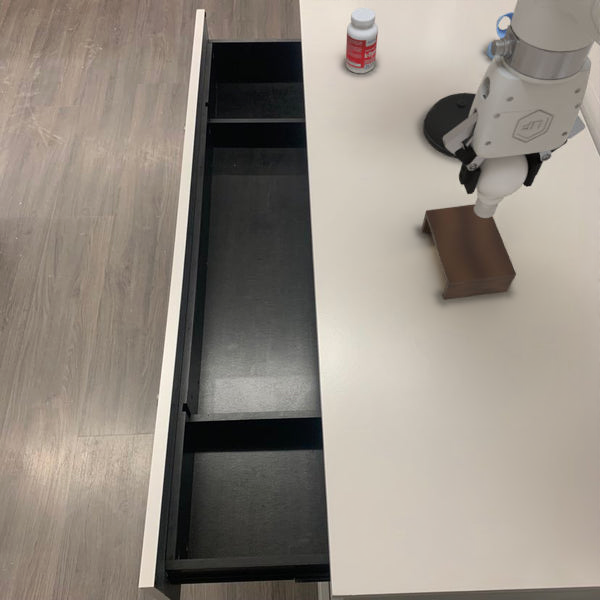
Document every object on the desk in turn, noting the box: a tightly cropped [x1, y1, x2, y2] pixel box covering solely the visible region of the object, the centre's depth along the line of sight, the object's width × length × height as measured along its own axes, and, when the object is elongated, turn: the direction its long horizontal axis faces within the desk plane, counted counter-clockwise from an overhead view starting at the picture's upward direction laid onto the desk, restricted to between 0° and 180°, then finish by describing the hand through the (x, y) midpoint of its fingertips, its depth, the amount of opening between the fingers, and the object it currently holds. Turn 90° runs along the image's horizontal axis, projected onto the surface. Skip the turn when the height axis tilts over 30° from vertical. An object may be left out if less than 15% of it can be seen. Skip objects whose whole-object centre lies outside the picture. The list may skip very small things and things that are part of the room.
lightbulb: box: [474, 154, 528, 218], centre depth 65 cm, size 6×6×11 cm
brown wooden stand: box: [421, 203, 517, 301], centre depth 83 cm, size 10×14×5 cm
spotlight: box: [486, 11, 514, 60], centre depth 107 cm, size 5×10×7 cm
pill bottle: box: [345, 7, 379, 74], centre depth 107 cm, size 6×6×11 cm
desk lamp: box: [422, 92, 476, 159], centre depth 81 cm, size 24×26×45 cm
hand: (495, 181), depth 65 cm, fingers closed on lightbulb, 6 cm apart
